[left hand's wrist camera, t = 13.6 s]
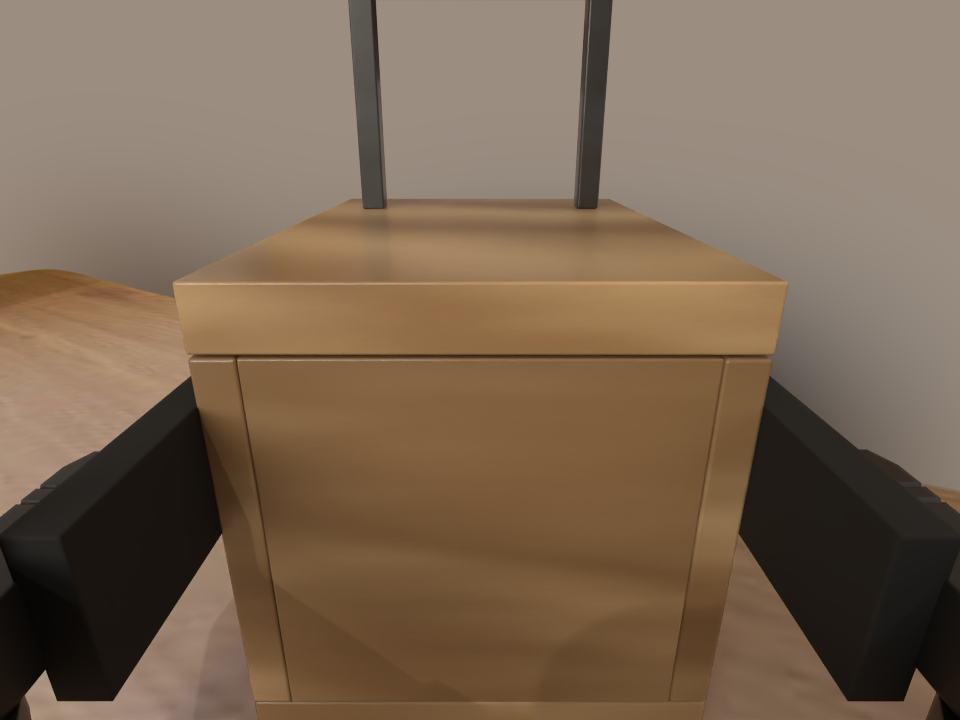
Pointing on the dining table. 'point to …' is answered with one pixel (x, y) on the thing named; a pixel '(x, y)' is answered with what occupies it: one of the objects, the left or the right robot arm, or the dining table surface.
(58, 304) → the dining table surface
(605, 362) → the chest
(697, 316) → the lid
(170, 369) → the dining table surface
